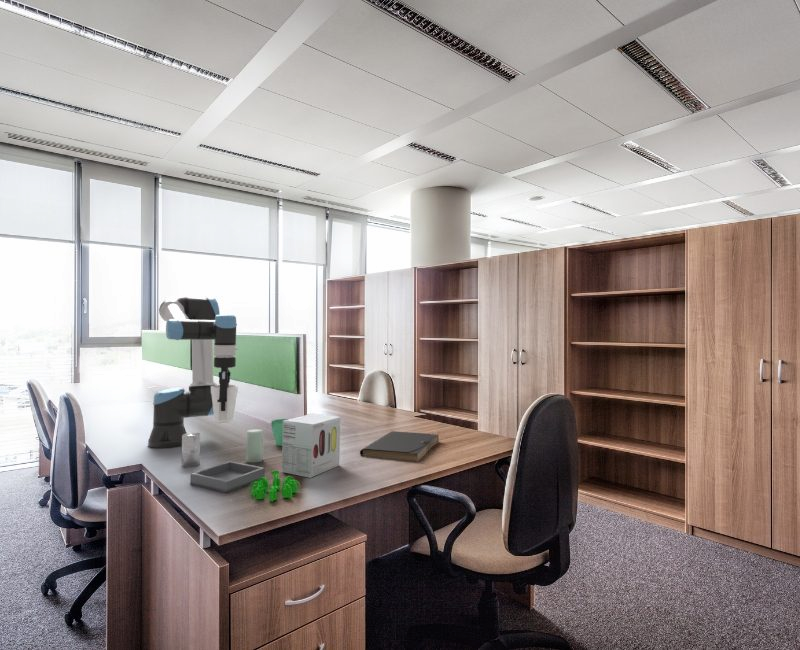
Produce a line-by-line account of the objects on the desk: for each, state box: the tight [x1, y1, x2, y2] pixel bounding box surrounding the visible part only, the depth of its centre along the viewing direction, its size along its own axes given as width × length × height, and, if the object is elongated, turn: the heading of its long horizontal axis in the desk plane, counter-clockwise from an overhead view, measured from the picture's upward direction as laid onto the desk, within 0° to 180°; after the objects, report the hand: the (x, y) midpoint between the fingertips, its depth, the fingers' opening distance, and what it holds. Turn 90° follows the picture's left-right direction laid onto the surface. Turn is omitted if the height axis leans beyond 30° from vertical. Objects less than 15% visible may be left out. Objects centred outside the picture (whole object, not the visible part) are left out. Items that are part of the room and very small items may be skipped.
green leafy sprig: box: [248, 470, 301, 503], centre depth 138 cm, size 15×15×7 cm
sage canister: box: [245, 429, 264, 464], centre depth 173 cm, size 6×6×11 cm
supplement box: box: [281, 413, 341, 479], centre depth 163 cm, size 17×13×18 cm
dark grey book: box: [359, 430, 439, 463], centre depth 193 cm, size 33×4×24 cm
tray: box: [189, 460, 266, 494], centre depth 149 cm, size 16×16×4 cm
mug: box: [270, 418, 289, 447], centre depth 197 cm, size 15×10×10 cm
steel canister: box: [181, 432, 201, 468], centre depth 166 cm, size 6×6×11 cm
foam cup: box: [211, 384, 239, 424], centre depth 170 cm, size 10×9×13 cm
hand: (223, 416), depth 170 cm, fingers closed on foam cup, 9 cm apart
